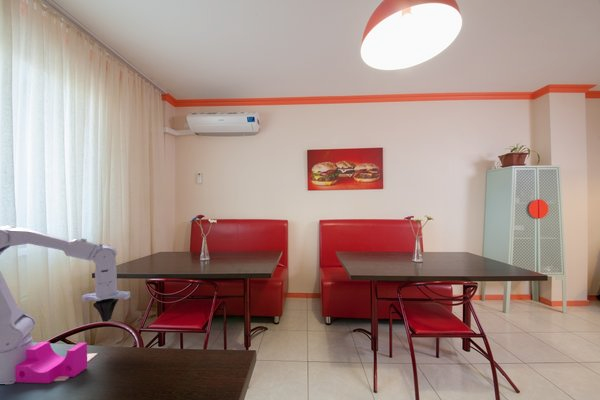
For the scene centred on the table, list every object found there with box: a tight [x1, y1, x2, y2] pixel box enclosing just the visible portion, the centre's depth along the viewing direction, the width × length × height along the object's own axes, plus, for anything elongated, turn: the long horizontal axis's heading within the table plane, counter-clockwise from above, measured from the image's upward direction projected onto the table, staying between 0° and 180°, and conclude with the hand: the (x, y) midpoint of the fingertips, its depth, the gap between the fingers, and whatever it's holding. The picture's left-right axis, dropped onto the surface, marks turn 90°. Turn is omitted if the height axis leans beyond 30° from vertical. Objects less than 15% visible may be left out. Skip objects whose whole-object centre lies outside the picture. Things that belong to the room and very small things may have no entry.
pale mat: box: [52, 352, 99, 382], centre depth 69 cm, size 8×11×1 cm
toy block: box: [15, 341, 88, 384], centre depth 66 cm, size 15×6×8 cm, turn 86°
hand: (107, 320), depth 79 cm, fingers closed
